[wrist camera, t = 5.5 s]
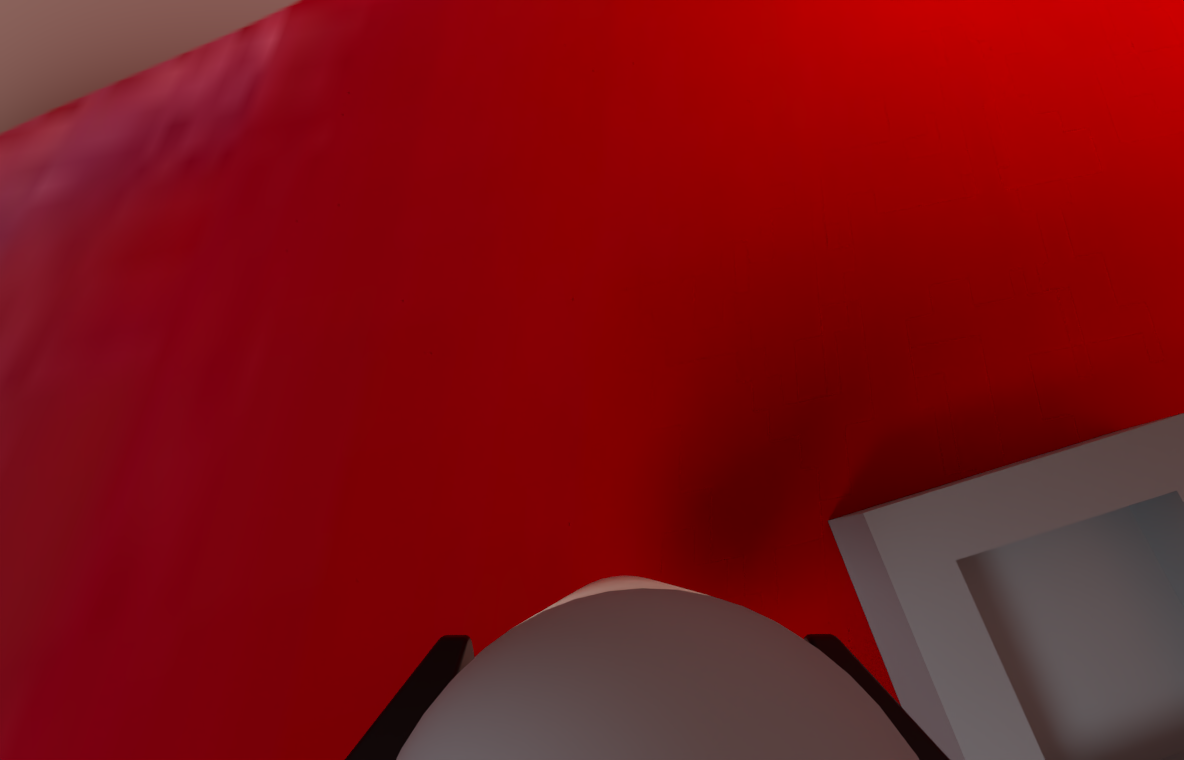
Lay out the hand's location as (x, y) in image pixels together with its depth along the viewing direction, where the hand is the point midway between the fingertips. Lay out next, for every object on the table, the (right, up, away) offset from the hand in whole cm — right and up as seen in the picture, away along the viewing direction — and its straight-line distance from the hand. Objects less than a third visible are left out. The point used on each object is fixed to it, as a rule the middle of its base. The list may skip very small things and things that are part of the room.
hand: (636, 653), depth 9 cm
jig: (+14, -4, +11) cm, 19 cm away
